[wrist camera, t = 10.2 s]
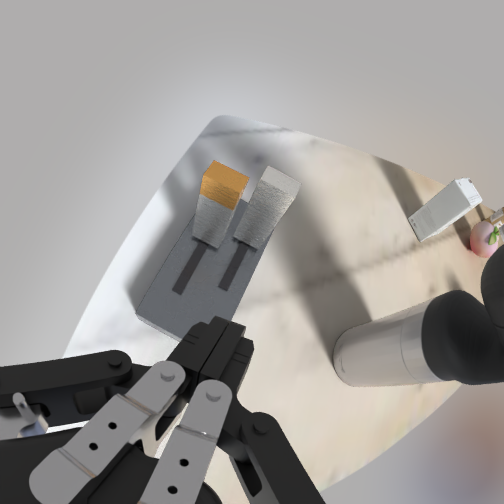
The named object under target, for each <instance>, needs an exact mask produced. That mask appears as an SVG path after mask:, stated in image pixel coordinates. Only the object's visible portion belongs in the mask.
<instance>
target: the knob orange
mask: <svg viewBox="0 0 504 504" xmlns="http://www.w3.org/2000/svg"><path fill="white" fill-rule="evenodd" d="M248 180H249V177H247V176H245V175H243V174H241V173H239V172H237V171H235V170H233V169H231V168H229V167H227V166H225V165H223V164H221V163H219V162H217V161H215V160H214V161H213V162H212V164H211V165H210V166H209V168H208V169H207V170H206V172H205V173H204V175H203V179H202V184H201V189H200V194H199V199H198V204H197V209H196V215H195V220H194V226H193V231H192V235H193V236H194V237H196V238H198V239H200V240H202V241H204V242H206V243H208V244H210V245H211V246H213V247H215V248H217V249H218V248H219V246H220V244H221V242H222V240H223V239H224V237H225V235H226V232H227V230H228V227H229V225H230V223H231V220H232V218H233V215H234V213H235V211H236V208H237V206H238V203H239V201H240V199H241V196H242V194H243V192H244V189H245V187H246V185H247V182H248Z"/></svg>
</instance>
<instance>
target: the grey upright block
mask: <svg viewBox="0 0 504 504" xmlns="http://www.w3.org/2000/svg"><path fill="white" fill-rule="evenodd" d="M301 184H302V183H300V182H298V181H297V180H295V179H293V178H291V177H289V176H287V175H286V174H284V173H282V172H280V171H278V170H276V169H274V168H272V167H270V166H269V165H268V166H267V168H266V170H265V172H264V173H263V175H262V177H261V179H260V181H259V183H258V185H257V187H256V189H255V191H254V193H253V195H252V197H251V199H250V201H249V204H248V206H247V208H246V210H245V212H244V214H243V216H242V218H241V220H240V223H239V225H238V227H237V229H236V231H235V233H234V235H233V237H235V238H237V239H239V240H241V241H243V242H245V243H247V244H248V245H250V246H252V247H254V248H256V249H258V250H259V249H260V247H261V246H262V244H263V243H264V242H265V240H266V239H267V237H268V236H269V234H270V233H271V232H272V230H273V229H274V227H275V226H276V225H277V223H278V222H279V220H280V219H281V217H282V216H283V215H284V213H285V212H286V210H287V209H288V208H289V206H290V205H291V203H292V202H293V200H294V199H295V198H296V195H297V193H298V191H299V188H300V186H301Z"/></svg>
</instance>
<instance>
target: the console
mask: <svg viewBox="0 0 504 504" xmlns="http://www.w3.org/2000/svg"><path fill="white" fill-rule="evenodd" d="M248 204H249V203H247V202H245V201H243V200H241V199H240V201H239V203H238V206H237V208H236V211H235V213H234V215H233V218H232V220H231V223H230V225H229V227H228V230H227V232H226V235H225V237H224V239H223V240H222V242H221V244H220V246H219V248H218V249H217V248H215V247H213V246H211V245H210V244H208V243H206V242H204V241H202V240H200V239H198V238H196V237H194V236H193V235H192V231H193V226H194V220H195V215H196V213H195V215H194V216H193V218H192V220H191V221H190V223H189V224H188V226H187V227H186V229H185V230H184V232H183V234H182V235H181V237H180V238H179V240H178V242H177V243H176V245H175V246H174V248H173V250H172V251H171V253H170V254H169V256H168V258H167V259H166V261H165V263H164V264H163V266H162V268H161V269H160V271H159V273H158V274H157V276H156V278H155V279H154V281H153V283H152V285H151V286H150V288H149V290H148V291H147V293H146V295H145V297H144V298H143V300H142V302H141V304H140V305H139V307H138V309H137V311H136V313H135V314H136V315H137V317H138V319H139V320H141V321H143V322H144V323H146V324H148V325H150V326H151V327H153V328H155V329H157V330H159V331H160V332H162V333H164V334H166V335H168V336H170V337H171V338H173V339H175V340H177V341H179V342H180V341H181V340H182V339H183V337H184V336H185V335H186V334H187V332H188V331H189V329H190V328H191V327H192V326H193V325H195V324H197V323H199V322H204V323H206V324H209V323H210V322H211V320H212V319H213V317H214V316H215V315H216V316H219V317H221V318H224V319H227V320H229V321H230V322H231V320H232V318H233V315H234V313H235V311H236V309H237V307H238V305H239V303H240V301H241V298H242V296H243V294H244V292H245V290H246V288H247V286H248V284H249V281H250V279H251V277H252V275H253V273H254V271H255V269H256V266H257V264H258V262H259V260H260V258H261V256H262V254H263V251H264V249H265V247H266V245H267V243H268V241H269V238H270V236H271V234H272V232H273V230H274V229H273V230H272V232H271V233H270V234H269V236H268V237H267V239H266V240H265V242H264V243H263V244H262V246H261V247H260V249H259V250H258V249H256V248H254V247H252V246H250V245H248V244H247V243H245V242H243V241H241V240H239V239H237V238H235V237H233V235H234V233H235V231H236V229H237V227H238V225H239V223H240V220H241V218H242V216H243V214H244V212H245V210H246V208H247V206H248ZM274 228H275V227H274Z"/></svg>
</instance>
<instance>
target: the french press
mask: <svg viewBox="0 0 504 504" xmlns="http://www.w3.org/2000/svg"><path fill="white" fill-rule="evenodd" d="M499 229H500V234H501V237H502V240H503V242H504V225H502V226H501V227H499Z"/></svg>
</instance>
